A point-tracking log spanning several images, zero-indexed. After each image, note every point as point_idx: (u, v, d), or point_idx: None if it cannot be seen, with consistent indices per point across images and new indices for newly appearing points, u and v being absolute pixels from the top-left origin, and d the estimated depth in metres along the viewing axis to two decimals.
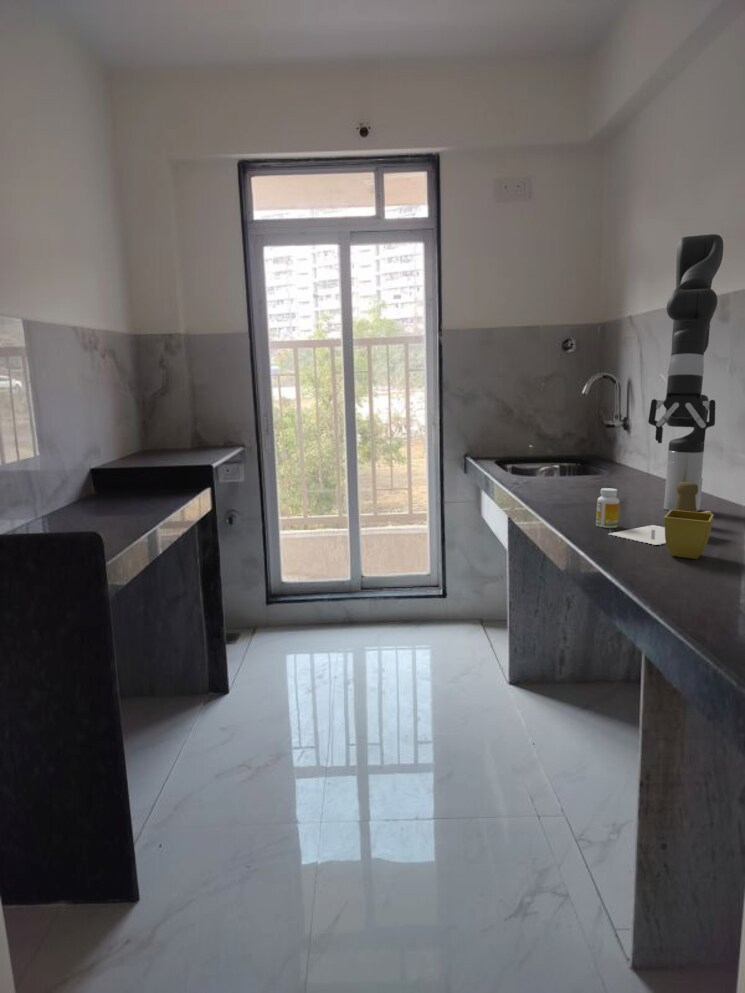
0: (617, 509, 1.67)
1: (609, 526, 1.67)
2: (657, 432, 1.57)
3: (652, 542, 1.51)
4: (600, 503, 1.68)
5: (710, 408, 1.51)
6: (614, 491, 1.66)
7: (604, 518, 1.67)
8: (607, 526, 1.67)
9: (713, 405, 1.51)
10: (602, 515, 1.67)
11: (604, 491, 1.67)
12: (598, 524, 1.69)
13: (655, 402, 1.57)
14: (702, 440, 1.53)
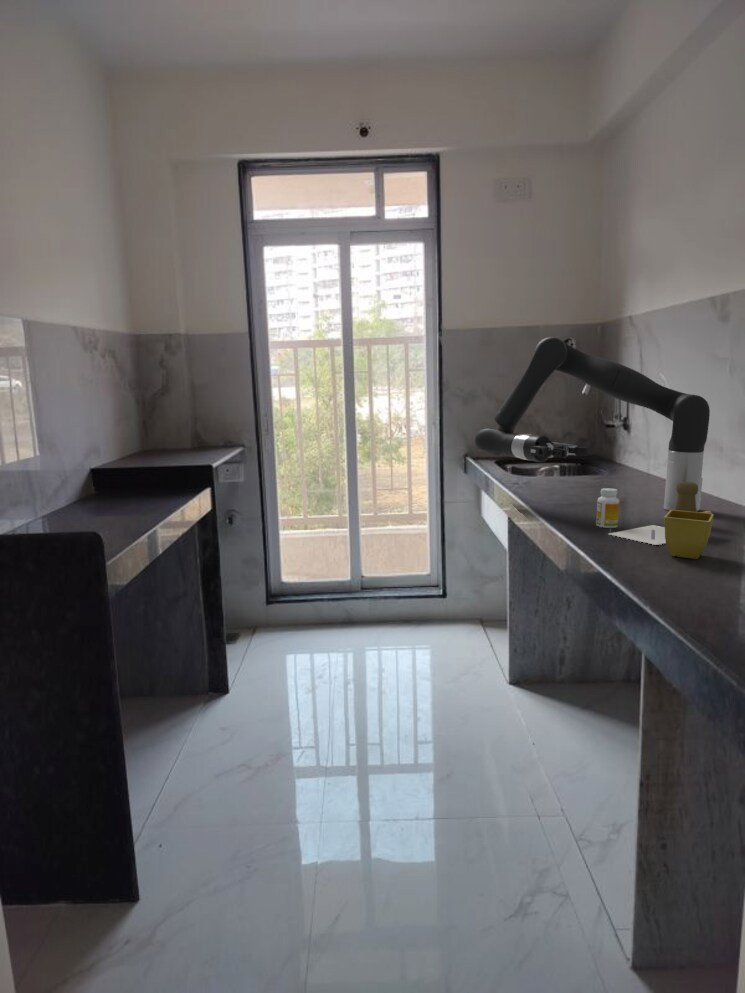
0: (617, 509, 1.67)
1: (609, 526, 1.67)
2: None
3: (652, 542, 1.51)
4: (600, 503, 1.68)
5: None
6: (614, 491, 1.66)
7: (604, 518, 1.67)
8: (607, 526, 1.67)
9: None
10: (602, 515, 1.67)
11: (604, 491, 1.67)
12: (598, 524, 1.69)
13: None
14: (561, 456, 1.74)
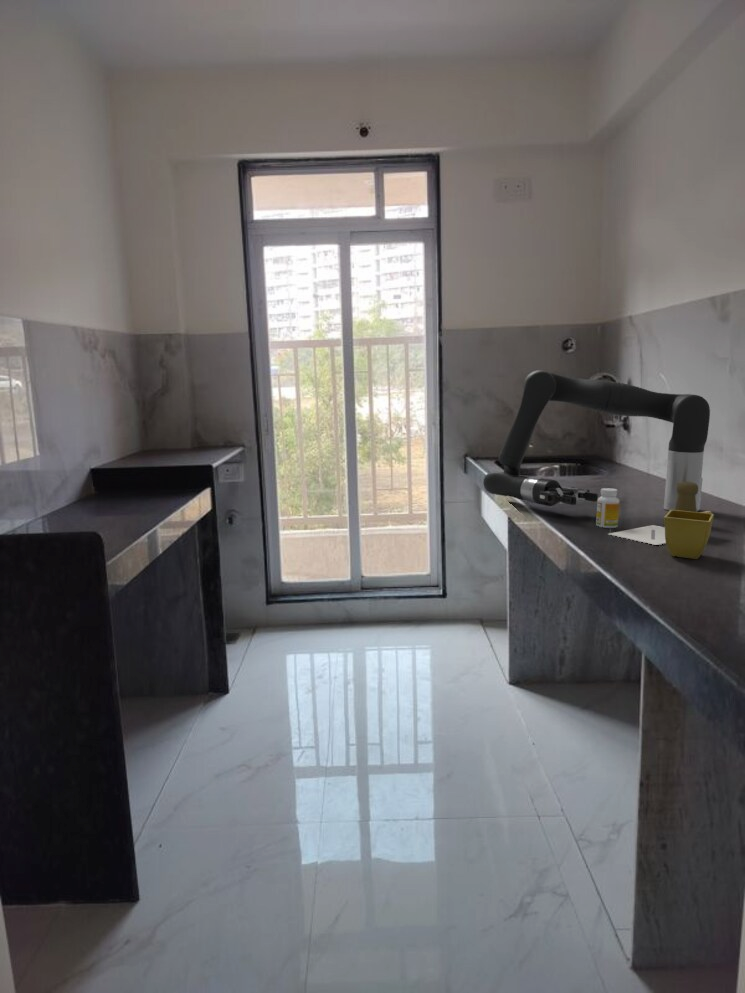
0: (617, 509, 1.67)
1: (609, 526, 1.67)
2: None
3: (652, 542, 1.51)
4: (600, 503, 1.68)
5: None
6: (614, 491, 1.66)
7: (604, 518, 1.67)
8: (607, 526, 1.67)
9: None
10: (602, 515, 1.67)
11: (604, 491, 1.67)
12: (598, 524, 1.69)
13: None
14: None
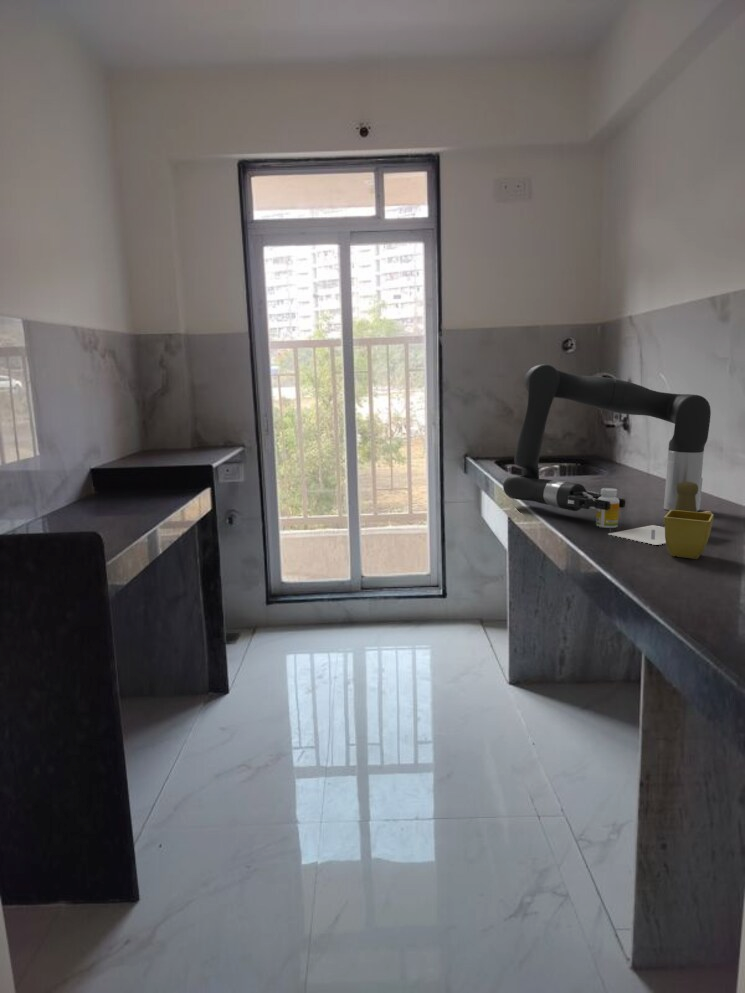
0: (617, 509, 1.67)
1: (609, 526, 1.67)
2: None
3: (652, 542, 1.51)
4: None
5: None
6: (614, 491, 1.66)
7: (604, 518, 1.67)
8: (607, 526, 1.67)
9: None
10: (602, 515, 1.67)
11: (604, 491, 1.67)
12: (599, 524, 1.69)
13: None
14: None
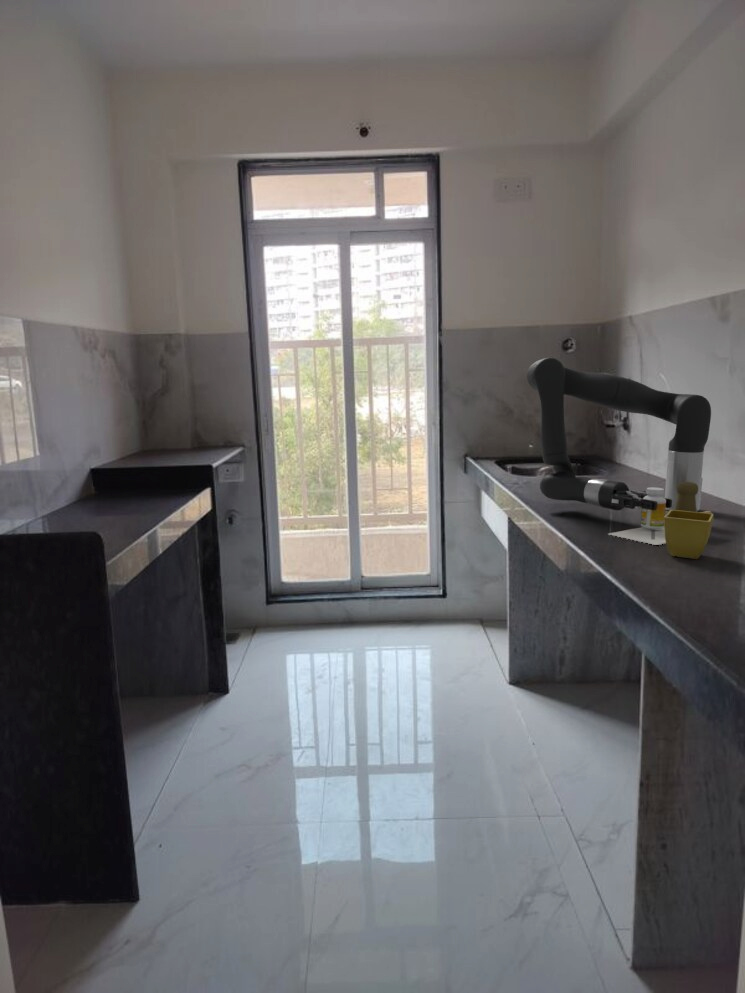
0: (664, 509, 1.61)
1: (655, 527, 1.61)
2: None
3: (652, 542, 1.51)
4: None
5: None
6: (661, 490, 1.61)
7: (650, 518, 1.62)
8: (653, 527, 1.62)
9: None
10: (648, 515, 1.62)
11: (650, 490, 1.61)
12: (644, 524, 1.63)
13: None
14: None
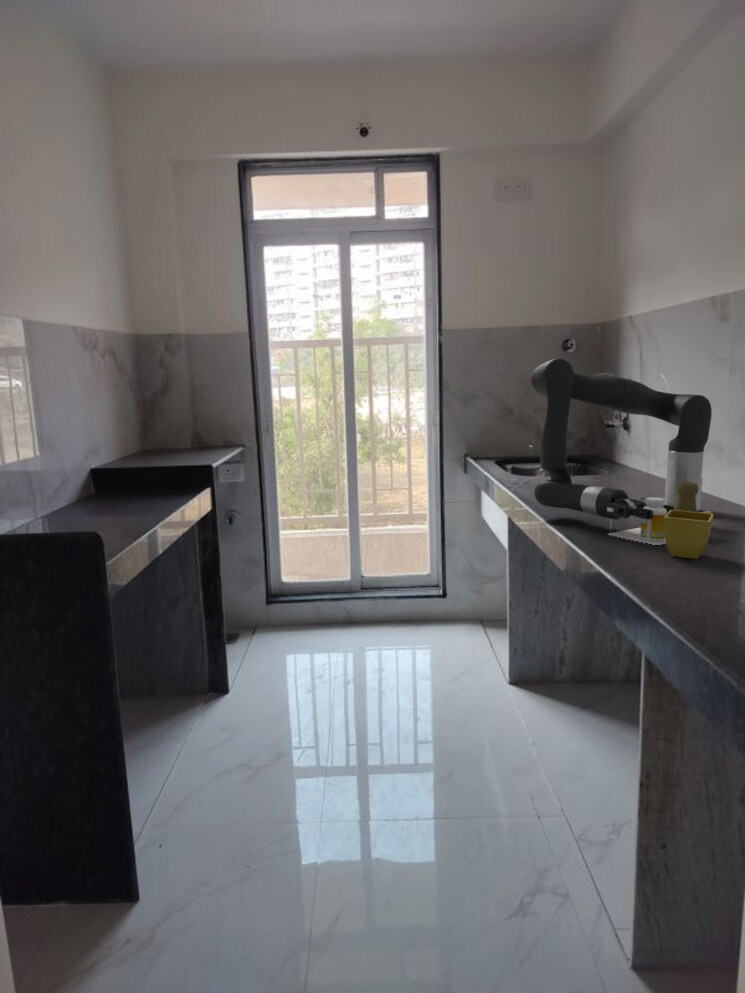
0: None
1: (656, 539, 1.52)
2: None
3: (652, 542, 1.51)
4: None
5: None
6: (661, 501, 1.51)
7: (650, 531, 1.52)
8: (653, 539, 1.52)
9: None
10: (648, 527, 1.52)
11: (650, 501, 1.52)
12: (644, 536, 1.53)
13: None
14: None
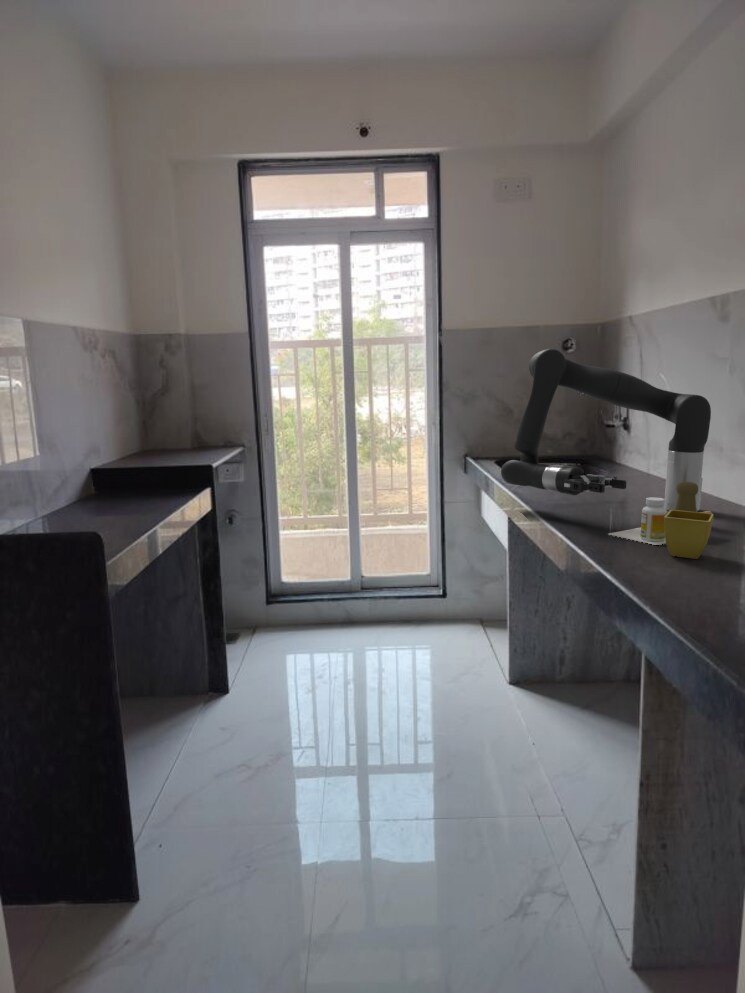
0: None
1: (656, 539, 1.52)
2: None
3: (652, 542, 1.51)
4: (645, 514, 1.52)
5: None
6: (661, 501, 1.51)
7: (650, 531, 1.52)
8: (653, 539, 1.52)
9: None
10: (648, 527, 1.52)
11: (650, 501, 1.52)
12: (644, 536, 1.53)
13: None
14: None
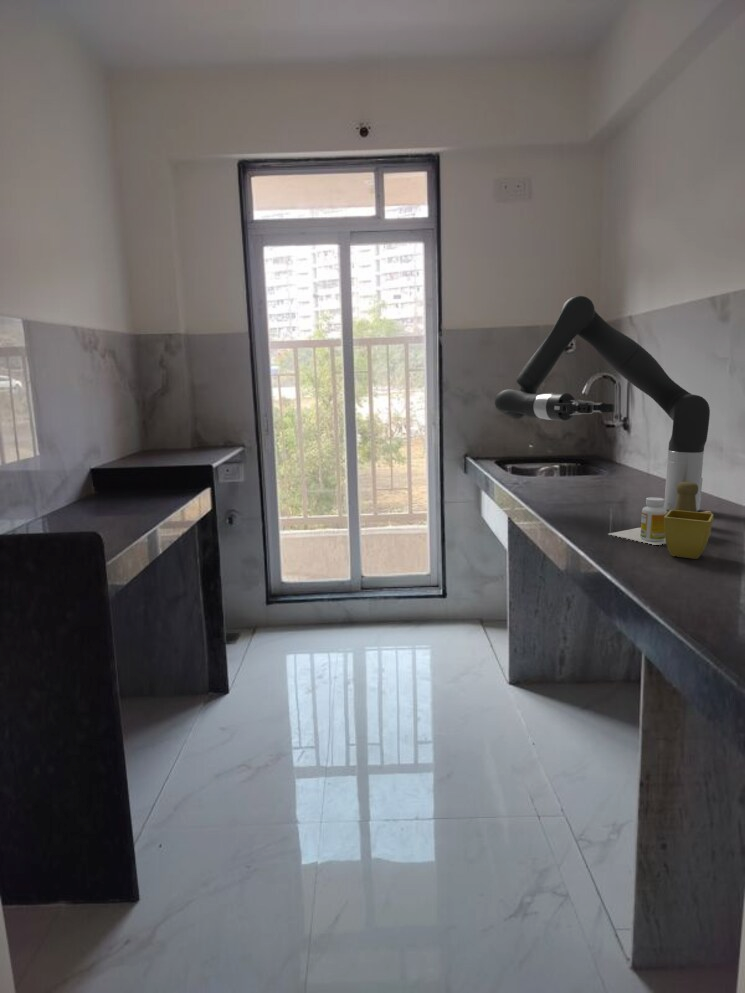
0: None
1: (656, 539, 1.52)
2: None
3: (652, 542, 1.51)
4: (645, 514, 1.52)
5: None
6: (661, 501, 1.51)
7: (650, 531, 1.52)
8: (653, 539, 1.52)
9: (557, 412, 1.74)
10: (648, 527, 1.52)
11: (650, 501, 1.52)
12: (644, 536, 1.53)
13: None
14: (586, 411, 1.68)
